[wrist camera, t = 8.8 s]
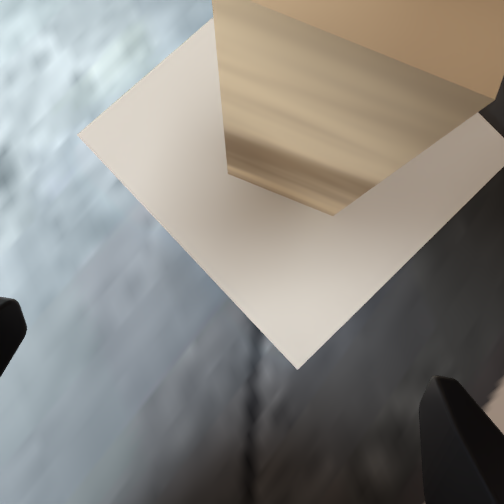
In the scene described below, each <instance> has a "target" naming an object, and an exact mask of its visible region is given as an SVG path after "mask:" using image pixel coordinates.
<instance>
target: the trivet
mask: <svg viewBox="0 0 504 504" xmlns="http://www.w3.org/2000/svg"><path fill="white" fill-rule="evenodd" d="M77 135H78V136H79V138H80V139H81V140H82V141H83V142H84V143H85V144H86V145H87V146H88V147H89V148H90V149H91V150H92V151H93V152H94V154H95V155H96V156H97V157H98V158H99V159H100V160H101V161H102V162H103V163H104V164H105V165H106V166H107V167H108V168H109V170H110V171H111V172H112V173H113V174H114V175H115V176H116V177H117V178H118V179H119V180H120V181H121V182H122V183H123V184H124V186H125V187H126V188H127V189H128V190H129V191H130V192H131V193H132V194H133V195H134V196H135V197H136V198H137V199H138V200H139V202H140V203H141V204H142V205H143V206H144V207H145V208H146V209H147V210H148V211H149V212H150V213H151V214H152V215H153V216H154V217H155V219H156V220H157V221H158V222H159V223H160V224H161V225H162V226H163V227H164V228H165V229H166V230H167V231H168V232H169V233H170V235H171V236H172V237H173V238H174V239H175V240H176V241H177V242H178V243H179V244H180V245H181V246H182V247H183V248H184V249H185V251H186V252H187V253H188V254H189V255H190V256H191V257H192V258H193V259H194V260H195V261H196V262H197V263H198V264H199V265H200V267H201V268H202V269H203V270H204V271H205V272H206V273H207V274H208V275H209V276H210V277H211V278H212V279H213V280H214V281H215V282H216V284H217V285H218V286H219V287H220V288H221V289H222V290H223V291H224V292H225V293H226V294H227V295H228V296H229V297H230V298H231V300H232V301H233V302H234V303H235V304H236V305H237V306H238V307H239V308H240V309H241V310H242V311H243V312H244V313H245V314H246V316H247V317H248V318H249V319H250V320H251V321H252V322H253V323H254V324H255V325H256V326H257V327H258V328H259V329H260V330H261V332H262V333H263V334H264V335H265V336H266V337H267V338H268V339H269V340H270V341H271V342H272V343H273V344H274V345H275V346H276V348H277V349H278V350H279V351H280V352H281V353H282V354H283V355H284V356H285V357H286V358H287V359H288V360H289V361H290V362H291V363H292V365H293V366H294V367H295V368H296V369H297V370H298V369H299V368H300V367H301V366H302V365H303V364H304V363H305V362H306V361H307V360H308V359H309V358H310V357H311V356H312V355H313V354H314V353H315V352H316V351H317V350H318V349H319V348H320V347H321V346H322V345H323V344H324V343H325V342H326V341H327V340H328V339H329V338H330V337H331V336H332V335H333V334H334V333H335V332H336V331H337V330H338V329H340V328H341V327H342V326H343V325H344V324H345V323H346V322H347V321H348V320H349V319H350V318H351V317H352V316H353V315H354V314H355V313H356V312H357V311H358V310H359V309H360V308H361V307H362V306H363V305H364V304H365V303H366V302H367V301H368V300H369V299H370V298H371V297H372V296H373V295H374V294H375V293H376V292H377V291H378V290H379V289H380V288H381V287H382V286H383V285H384V284H385V283H386V282H387V281H388V280H389V279H390V278H391V277H392V276H393V275H394V274H395V273H396V272H397V271H398V270H399V269H400V268H401V267H402V266H403V265H404V264H405V263H406V262H407V261H408V260H409V259H410V258H411V257H412V256H413V255H414V254H415V253H416V252H417V251H418V250H419V249H421V248H422V247H423V246H424V245H425V244H426V243H427V242H428V241H429V240H430V239H431V238H432V237H433V236H434V235H435V234H436V233H437V232H438V231H439V230H440V229H441V228H442V227H443V226H444V225H445V224H446V223H447V222H448V221H449V220H450V219H451V218H452V217H453V216H454V215H455V214H456V213H457V212H458V211H459V210H460V209H461V208H462V207H463V206H464V205H465V204H466V203H467V202H468V201H469V200H470V199H471V198H472V197H473V196H474V195H475V194H476V193H477V192H478V191H479V190H480V189H481V188H482V187H483V186H484V185H485V184H486V183H487V182H488V181H489V180H490V179H491V178H492V177H493V176H494V175H495V174H496V173H497V172H498V171H499V170H500V169H502V168H503V167H504V138H503V137H502V136H501V135H500V134H499V133H498V132H497V131H496V130H495V129H494V128H493V127H492V126H491V125H490V124H489V123H488V122H487V121H486V120H485V119H484V118H483V117H482V116H481V115H480V114H479V113H478V112H477V113H476V114H474V115H473V116H472V117H470V118H469V119H467V120H466V121H465V122H463V123H462V124H461V125H459V126H458V127H456V128H455V129H454V130H452V131H451V132H449V133H448V134H447V135H445V136H444V137H442V138H441V139H440V140H438V141H437V142H435V143H434V144H433V145H431V146H430V147H429V148H427V149H426V150H424V151H423V152H422V153H420V154H419V155H417V156H416V157H415V158H413V159H412V160H410V161H409V162H408V163H406V164H405V165H403V166H402V167H401V168H399V169H398V170H396V171H395V172H394V173H392V174H391V175H390V176H388V177H387V178H385V179H384V180H383V181H381V182H380V183H378V184H377V185H376V186H374V187H373V188H371V189H370V190H369V191H367V192H366V193H364V194H363V195H362V196H360V197H359V198H358V199H356V200H355V201H353V202H352V203H351V204H349V205H348V206H346V207H345V208H344V209H342V210H341V211H339V212H338V213H337V214H335V215H334V216H331V215H329V214H326V213H324V212H321V211H319V210H317V209H314V208H312V207H309V206H307V205H304V204H302V203H299V202H297V201H294V200H292V199H289V198H287V197H284V196H282V195H279V194H277V193H274V192H272V191H269V190H267V189H264V188H262V187H259V186H257V185H254V184H252V183H249V182H247V181H245V180H242V179H240V178H237V177H235V176H232V175H230V174H228V170H227V159H226V148H225V137H224V126H223V115H222V104H221V94H220V83H219V72H218V61H217V50H216V39H215V28H214V17H213V18H212V19H210V20H209V21H208V22H207V23H206V24H205V25H204V26H202V27H201V28H200V29H199V30H198V31H197V32H195V33H194V34H193V35H192V36H191V37H190V38H188V39H187V40H186V41H185V42H184V43H183V44H182V45H180V46H179V47H178V48H177V49H176V50H175V51H173V52H172V53H171V54H170V55H169V56H168V57H166V58H165V59H164V60H163V61H162V62H161V63H160V64H158V65H157V66H156V67H155V68H154V69H153V70H151V71H150V72H149V73H148V74H147V75H146V76H144V77H143V78H142V79H141V80H140V81H139V82H138V83H136V84H135V85H134V86H133V87H132V88H131V89H129V90H128V91H127V92H126V93H125V94H124V95H122V96H121V97H120V98H119V99H118V100H117V101H116V102H114V103H113V104H112V105H111V106H110V107H109V108H107V109H106V110H105V111H104V112H103V113H102V114H100V115H99V116H98V117H97V118H96V119H95V120H94V121H92V122H91V123H90V124H89V125H88V126H87V127H85V128H84V129H83V130H82V131H81V132H80V133H79V134H77Z"/></svg>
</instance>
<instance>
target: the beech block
mask: <svg viewBox="0 0 504 504" xmlns="http://www.w3.org/2000/svg"><path fill="white" fill-rule="evenodd" d="M212 6H213V17H214V28H215V39H216V50H217V61H218V72H219V83H220V94H221V104H222V115H223V126H224V137H225V148H226V159H227V170H228V174H230V175H232V176H235V177H237V178H240V179H242V180H245V181H247V182H249V183H252V184H254V185H257V186H259V187H262V188H264V189H267V190H269V191H272V192H274V193H277V194H279V195H282V196H284V197H287V198H289V199H292V200H294V201H297V202H299V203H302V204H304V205H307V206H309V207H312V208H314V209H317V210H319V211H321V212H324V213H326V214H329V215H331V216H334V215H335V214H337V213H338V212H339V211H341V210H342V209H344V208H345V207H346V206H348V205H349V204H351V203H352V202H353V201H355V200H356V199H358V198H359V197H360V196H362V195H363V194H364V193H366V192H367V191H369V190H370V189H371V188H373V187H374V186H376V185H377V184H378V183H380V182H381V181H383V180H384V179H385V178H387V177H388V176H390V175H391V174H392V173H394V172H395V171H396V170H398V169H399V168H401V167H402V166H403V165H405V164H406V163H408V162H409V161H410V160H412V159H413V158H415V157H416V156H417V155H419V154H420V153H422V152H423V151H424V150H426V149H427V148H429V147H430V146H431V145H433V144H434V143H435V142H437V141H438V140H440V139H441V138H442V137H444V136H445V135H447V134H448V133H449V132H451V131H452V130H454V129H455V128H456V127H458V126H459V125H461V124H462V123H463V122H465V121H466V120H467V119H469V118H470V117H472V116H473V115H474V114H476V113H477V112H479V111H480V110H481V109H483V108H484V107H486V106H487V105H488V104H490V103H491V102H493V101H494V100H495V98H496V96H497V93H498V90H499V87H500V84H501V82H502V79H503V76H504V0H212Z"/></svg>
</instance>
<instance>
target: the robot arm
mask: <svg viewBox="0 0 504 504" xmlns="http://www.w3.org/2000/svg"><path fill="white" fill-rule="evenodd" d="M26 331H27V325H26V322H25V319H24V316H23V313H22V310H21V307H20V305H19V303H18V301H16V300H15V299H11V298H5V297H0V377H1V375H2V374H3V372H4V370H5V369H6V367H7V365H8V364H9V362H10V360H11V359H12V357H13V355H14V354H15V352H16V350H17V349H18V347H19V345H20V344H21V342H22V340H23V339H24V337H25V335H26ZM419 420H420V437H421V454H422V471H423V486H424V495H425V502H426V504H504V435H503V434H502V432H501V431H500V430H499V429H498V427H497V426H496V425H495V424H494V423H493V422H492V421H491V419H490V418H489V417H488V416H487V415H486V413H485V412H484V411H483V410H482V409H481V408H480V406H479V405H478V404H477V403H476V402H475V401H474V399H473V398H472V397H471V396H470V395H469V394H468V392H467V391H466V390H465V389H464V388H463V387H462V385H461V384H460V383H459V382H458V381H457V380H455V379H453V378H448V377H442V376H433V377H432V378H431V379H430V381H429V384H428V386H427V388H426V390H425V393H424V395H423V397H422V399H421V402H420V407H419Z"/></svg>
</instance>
